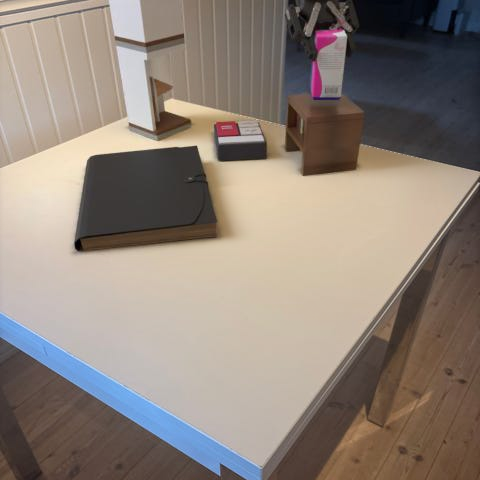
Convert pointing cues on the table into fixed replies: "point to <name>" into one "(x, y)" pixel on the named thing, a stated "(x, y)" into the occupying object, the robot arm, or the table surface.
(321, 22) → the robot arm
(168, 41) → the white tower
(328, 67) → the supplement box
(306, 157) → the shelf
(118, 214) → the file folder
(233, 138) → the dark grey flat box
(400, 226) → the table surface
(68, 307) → the table surface
